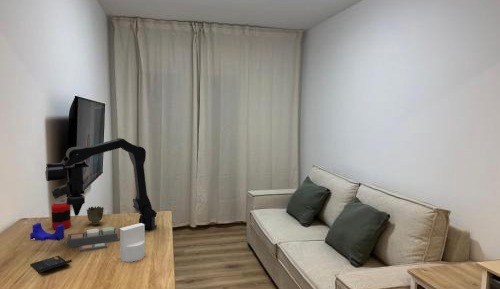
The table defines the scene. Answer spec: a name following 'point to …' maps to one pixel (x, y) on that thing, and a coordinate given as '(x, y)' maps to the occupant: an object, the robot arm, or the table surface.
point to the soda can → (61, 214)
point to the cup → (95, 214)
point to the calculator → (49, 263)
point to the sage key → (107, 230)
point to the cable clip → (42, 235)
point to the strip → (93, 247)
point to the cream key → (92, 232)
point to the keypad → (91, 239)
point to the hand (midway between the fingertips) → (76, 215)
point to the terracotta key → (76, 236)
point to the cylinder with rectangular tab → (132, 242)
